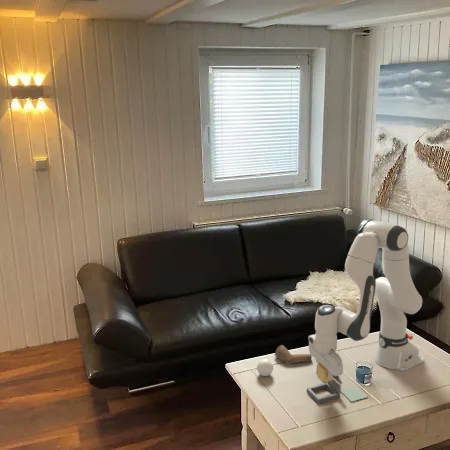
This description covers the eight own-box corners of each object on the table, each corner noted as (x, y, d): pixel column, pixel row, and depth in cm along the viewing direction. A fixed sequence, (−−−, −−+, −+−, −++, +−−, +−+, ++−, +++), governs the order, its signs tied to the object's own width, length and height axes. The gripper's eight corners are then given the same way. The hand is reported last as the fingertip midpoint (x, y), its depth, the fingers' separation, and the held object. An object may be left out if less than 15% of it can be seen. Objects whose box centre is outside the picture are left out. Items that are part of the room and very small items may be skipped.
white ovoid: (269, 369, 236) (269, 354, 234) (275, 377, 229) (275, 363, 227) (248, 372, 233) (248, 358, 231) (254, 381, 227) (254, 367, 224)
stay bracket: (329, 368, 235) (330, 361, 234) (338, 376, 229) (338, 368, 228) (316, 372, 233) (316, 364, 232) (324, 380, 227) (325, 372, 226)
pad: (356, 387, 222) (356, 386, 221) (367, 397, 214) (367, 396, 214) (340, 391, 219) (340, 390, 219) (351, 402, 212) (351, 401, 212)
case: (328, 385, 223) (329, 373, 221) (340, 397, 215) (341, 384, 213) (306, 391, 219) (307, 379, 217) (318, 403, 211) (318, 391, 209)
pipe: (314, 354, 239) (307, 340, 247) (279, 358, 236) (273, 344, 245) (313, 365, 241) (306, 351, 250) (278, 369, 239) (273, 355, 247)
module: (326, 374, 218) (327, 361, 216) (332, 380, 214) (333, 367, 212) (317, 377, 216) (317, 364, 214) (323, 382, 212) (323, 370, 210)
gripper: (347, 354, 202) (346, 385, 206) (319, 331, 220) (318, 359, 224) (333, 358, 200) (332, 389, 204) (306, 334, 218) (306, 363, 222)
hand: (325, 373), depth 214 cm, fingers closed on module, 4 cm apart
